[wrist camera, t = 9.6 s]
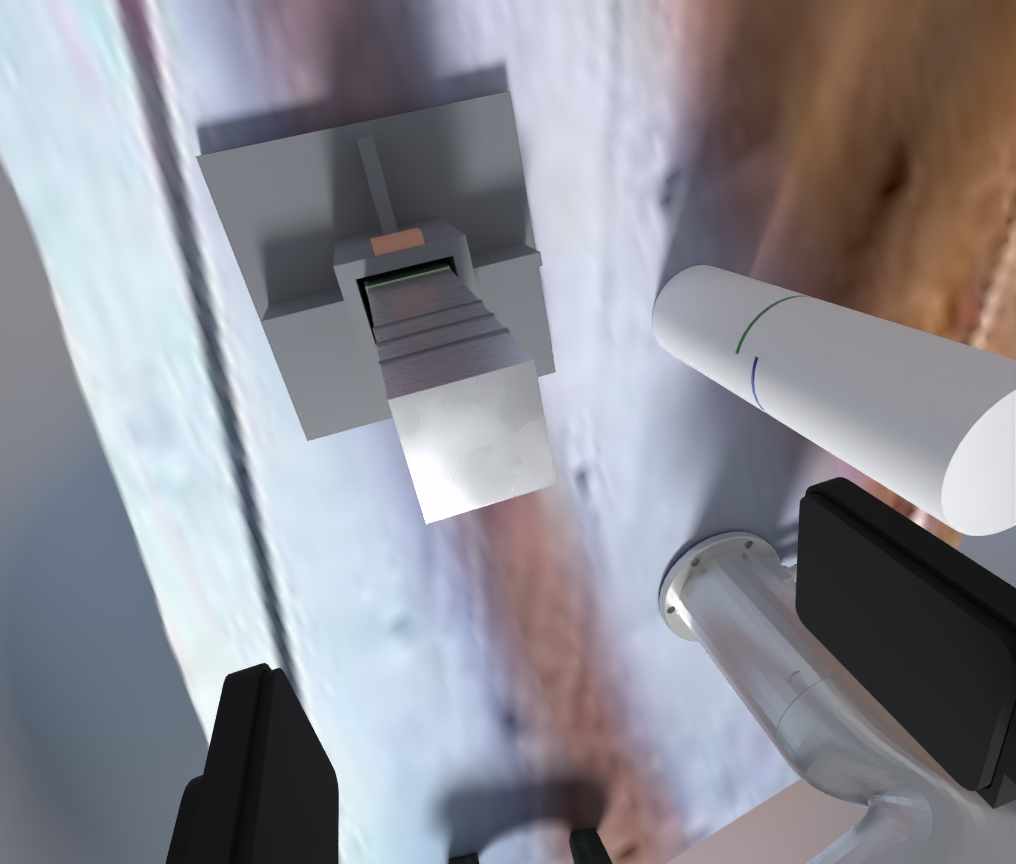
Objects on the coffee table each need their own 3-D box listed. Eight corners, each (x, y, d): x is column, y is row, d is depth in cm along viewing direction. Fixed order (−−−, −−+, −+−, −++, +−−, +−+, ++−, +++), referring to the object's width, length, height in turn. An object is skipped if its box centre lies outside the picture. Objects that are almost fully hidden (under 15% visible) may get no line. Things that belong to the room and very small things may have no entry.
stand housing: (503, 93, 37) (562, 72, 27) (549, 365, 45) (606, 424, 35) (201, 156, 34) (146, 158, 24) (308, 431, 42) (299, 515, 33)
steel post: (438, 254, 32) (536, 357, 16) (456, 328, 34) (558, 485, 18) (362, 273, 31) (385, 399, 15) (384, 346, 33) (424, 525, 17)
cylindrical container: (649, 362, 47) (921, 550, 25) (654, 269, 44) (971, 389, 22) (731, 351, 48) (1057, 519, 26) (742, 260, 45) (1121, 364, 23)
